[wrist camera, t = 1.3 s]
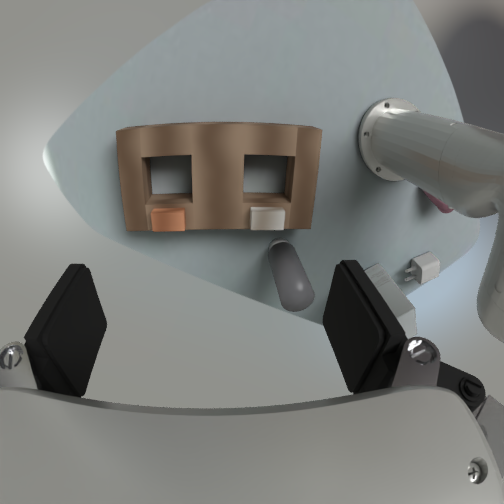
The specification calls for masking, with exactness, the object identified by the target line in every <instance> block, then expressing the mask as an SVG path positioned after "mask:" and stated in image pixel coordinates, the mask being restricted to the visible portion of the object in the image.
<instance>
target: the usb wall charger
mask: <svg viewBox="0 0 504 504" xmlns="http://www.w3.org/2000/svg"><path fill="white" fill-rule="evenodd" d="M439 269H440V261H439V259H437V258H436V257H435V256H434V255H433V254H432V253H431V252H428V253H425V254H423V255H420V256H418V257H415V258H413V259H412V260H411V268H409V269H407V270H405V272H406V273H408V272H411V274H412V276H410V277H408V278H406V279H408V280H406V279H404V280H405V281H409V280H412V279H414V278H415V280H416V281H417V282H418V283H419V284H423V283H425V282H427V281H429V280H432V279H434V278H436V277H438V276H439ZM407 271H408V272H407Z"/></svg>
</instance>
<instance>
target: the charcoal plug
mask: <svg viewBox="0 0 504 504" xmlns="http://www.w3.org/2000/svg"><path fill="white" fill-rule="evenodd" d="M268 258H269V262H270V265H271V269H272V272H273V276H274V280H275V283H276V287H277V290H278V294H279V297H280V301H281V305H282V306H283V308H284V309H286V310H288V311H292V312H297V311H301V310H304V309H306V308H307V307H309V306H310V305H311V304H312V302H313V300H314V297H315V294H314V291H313V289H312V286H311V284H310V282H309V280H308V277H307V275H306V273H305V271H304V268H303V266H302V264H301V262H300V259H299V257H298V255H297V253H296V251H295V248H294V247H293V245H291V244H290V243H289V242H288V241H287V240H286V239H284V238H277V239H274V240H273V241H272V242H271V243H270V245H269V252H268Z"/></svg>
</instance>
